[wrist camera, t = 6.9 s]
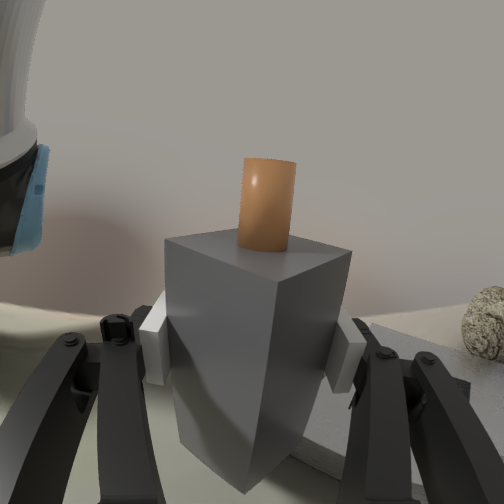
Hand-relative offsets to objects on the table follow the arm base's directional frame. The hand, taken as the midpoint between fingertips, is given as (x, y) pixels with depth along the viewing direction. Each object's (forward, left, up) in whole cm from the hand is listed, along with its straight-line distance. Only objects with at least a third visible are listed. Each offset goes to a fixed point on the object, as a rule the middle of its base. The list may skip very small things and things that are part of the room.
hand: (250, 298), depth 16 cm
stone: (+20, +27, -12) cm, 36 cm away
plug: (+3, -4, -8) cm, 9 cm away
